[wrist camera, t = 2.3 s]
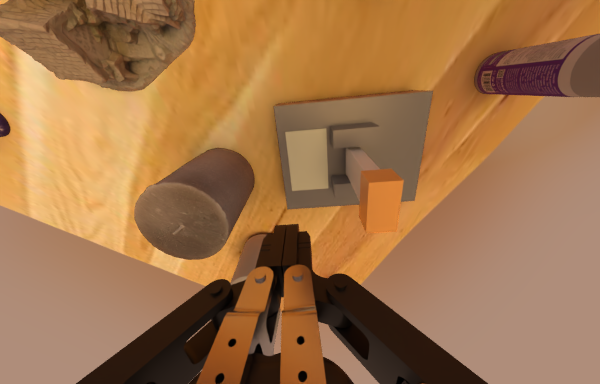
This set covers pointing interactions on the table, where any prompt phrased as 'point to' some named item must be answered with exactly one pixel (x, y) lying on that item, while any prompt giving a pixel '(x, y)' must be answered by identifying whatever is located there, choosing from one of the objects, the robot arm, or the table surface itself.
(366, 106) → the box
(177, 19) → the ceramic cottage
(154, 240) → the pillar candle
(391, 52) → the table surface
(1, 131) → the toy lamp
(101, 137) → the table surface
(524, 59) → the container
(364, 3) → the table surface
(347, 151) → the breaker lever
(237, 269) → the can
